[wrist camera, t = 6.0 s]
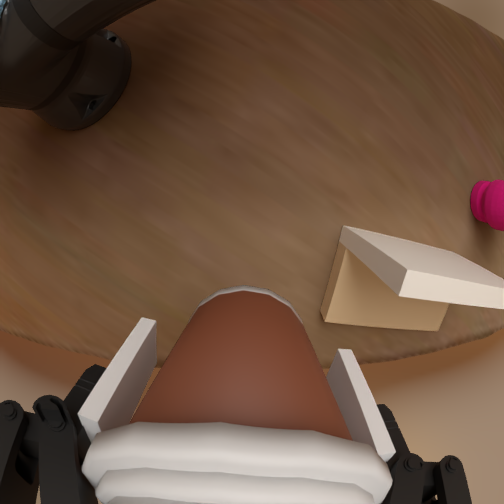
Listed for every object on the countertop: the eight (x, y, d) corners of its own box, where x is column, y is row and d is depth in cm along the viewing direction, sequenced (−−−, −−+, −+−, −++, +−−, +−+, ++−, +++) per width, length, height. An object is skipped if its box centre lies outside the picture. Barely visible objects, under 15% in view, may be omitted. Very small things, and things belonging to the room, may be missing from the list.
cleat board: (342, 225, 32) (407, 269, 17) (453, 252, 32) (527, 293, 17) (319, 310, 35) (354, 395, 20) (428, 321, 36) (484, 382, 20)
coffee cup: (248, 411, 17) (241, 573, 5) (137, 332, 15) (38, 503, 3) (357, 333, 15) (445, 519, 3) (242, 221, 13) (171, 499, 1)
